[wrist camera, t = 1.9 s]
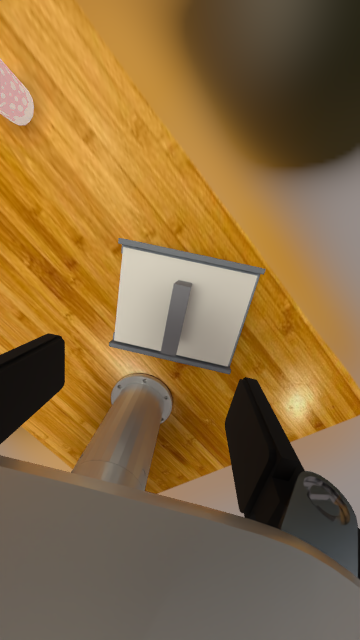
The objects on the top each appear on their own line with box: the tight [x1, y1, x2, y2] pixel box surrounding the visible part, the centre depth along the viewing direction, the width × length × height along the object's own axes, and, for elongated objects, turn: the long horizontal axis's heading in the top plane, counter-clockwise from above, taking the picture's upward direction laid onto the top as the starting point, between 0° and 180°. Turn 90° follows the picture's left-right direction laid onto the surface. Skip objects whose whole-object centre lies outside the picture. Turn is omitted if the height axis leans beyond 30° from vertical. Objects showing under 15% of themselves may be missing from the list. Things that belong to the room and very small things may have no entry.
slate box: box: [109, 238, 265, 374], centre depth 27 cm, size 15×18×7 cm
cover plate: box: [114, 247, 257, 367], centre depth 22 cm, size 13×17×6 cm
